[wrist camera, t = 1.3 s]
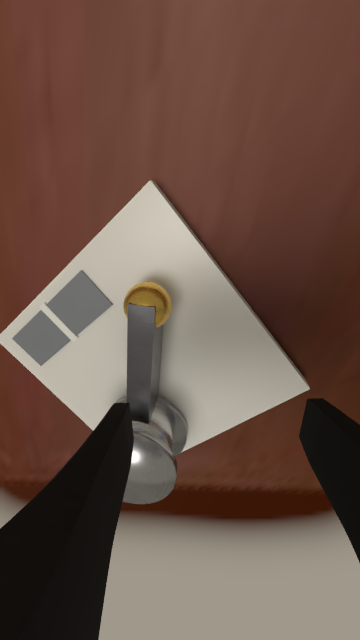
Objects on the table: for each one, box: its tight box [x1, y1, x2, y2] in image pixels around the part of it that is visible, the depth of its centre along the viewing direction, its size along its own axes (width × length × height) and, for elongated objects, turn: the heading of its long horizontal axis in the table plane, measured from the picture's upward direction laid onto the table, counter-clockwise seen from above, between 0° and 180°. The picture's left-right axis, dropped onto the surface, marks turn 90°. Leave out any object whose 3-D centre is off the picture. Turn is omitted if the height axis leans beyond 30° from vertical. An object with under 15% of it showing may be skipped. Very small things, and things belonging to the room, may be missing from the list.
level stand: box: [0, 180, 310, 453], centre depth 21 cm, size 18×18×2 cm
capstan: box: [116, 282, 188, 504], centre depth 18 cm, size 17×7×5 cm, turn 175°
